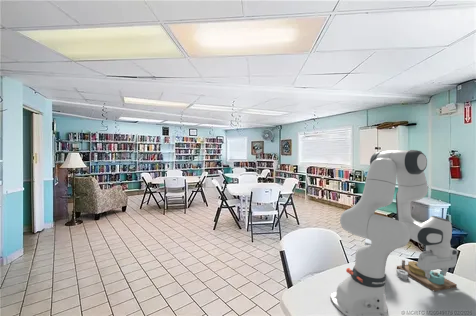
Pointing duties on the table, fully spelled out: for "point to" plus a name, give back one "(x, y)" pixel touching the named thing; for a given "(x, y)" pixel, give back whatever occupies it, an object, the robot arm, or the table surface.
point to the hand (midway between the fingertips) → (435, 276)
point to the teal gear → (436, 278)
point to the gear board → (420, 276)
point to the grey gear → (402, 274)
